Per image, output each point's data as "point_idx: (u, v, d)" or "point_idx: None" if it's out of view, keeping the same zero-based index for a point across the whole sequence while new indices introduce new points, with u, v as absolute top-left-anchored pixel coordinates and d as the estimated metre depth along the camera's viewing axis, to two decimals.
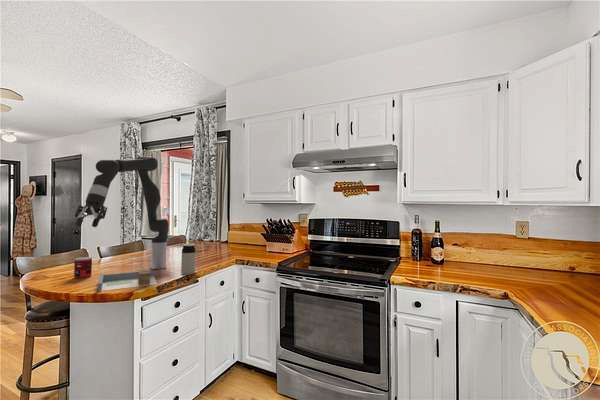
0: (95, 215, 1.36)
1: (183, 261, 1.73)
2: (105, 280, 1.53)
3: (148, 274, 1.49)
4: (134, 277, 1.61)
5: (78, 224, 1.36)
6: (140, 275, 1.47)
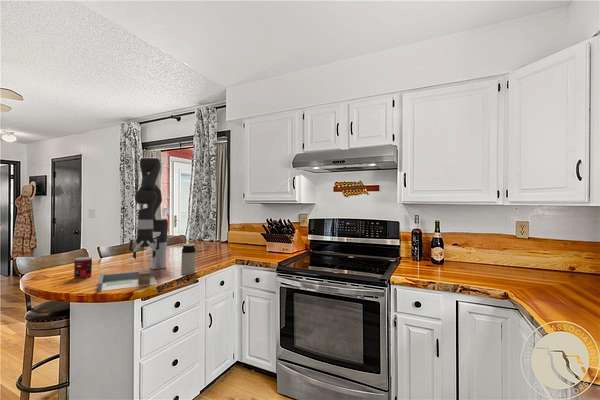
0: (153, 248, 1.54)
1: (183, 261, 1.73)
2: (105, 280, 1.53)
3: (148, 274, 1.49)
4: (134, 277, 1.61)
5: (135, 257, 1.50)
6: (140, 275, 1.47)
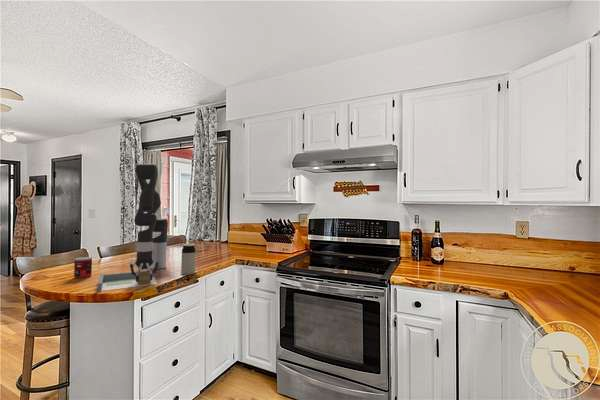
0: (149, 271, 1.53)
1: (183, 261, 1.73)
2: (105, 280, 1.53)
3: (148, 274, 1.49)
4: (134, 277, 1.61)
5: (138, 281, 1.51)
6: (140, 275, 1.47)
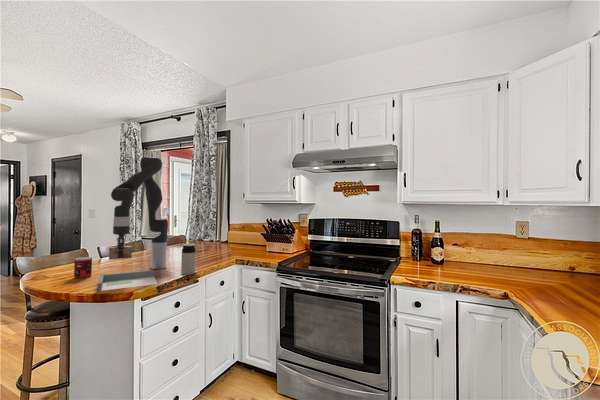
0: (118, 247, 1.49)
1: (183, 261, 1.73)
2: (105, 280, 1.53)
3: (109, 249, 1.48)
4: (134, 277, 1.61)
5: None
6: None
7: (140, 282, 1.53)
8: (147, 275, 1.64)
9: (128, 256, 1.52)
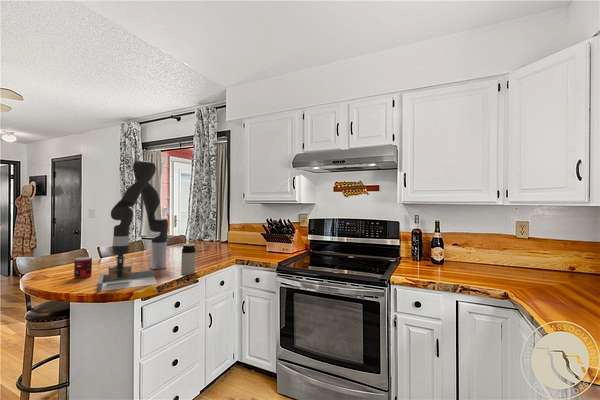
0: None
1: (183, 261, 1.73)
2: (105, 280, 1.53)
3: None
4: (134, 277, 1.61)
5: None
6: (109, 267, 1.50)
7: (140, 282, 1.53)
8: (147, 275, 1.64)
9: (127, 275, 1.51)
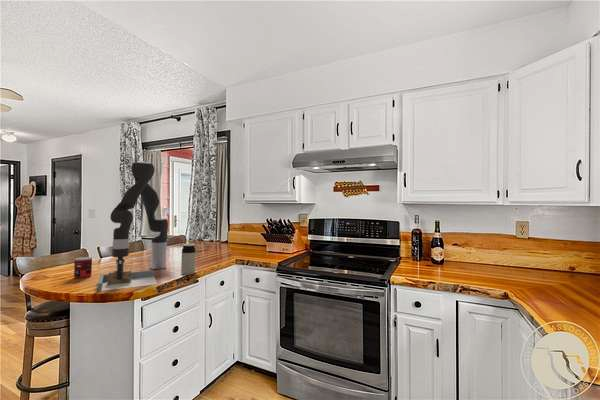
0: (117, 269, 1.47)
1: (183, 261, 1.73)
2: (105, 280, 1.53)
3: None
4: (134, 277, 1.61)
5: None
6: None
7: (140, 282, 1.53)
8: (147, 275, 1.64)
9: (127, 280, 1.51)
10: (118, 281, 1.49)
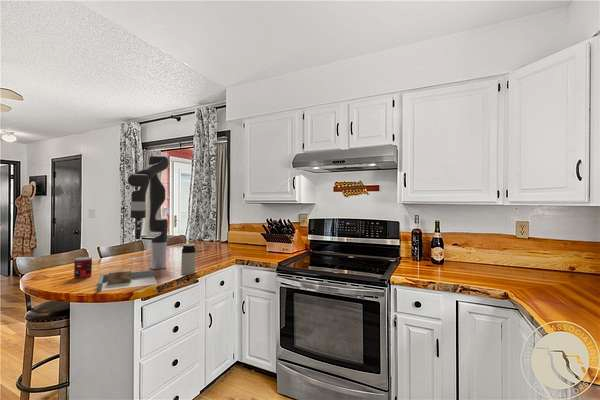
0: (135, 229, 1.55)
1: (183, 261, 1.73)
2: (105, 280, 1.53)
3: None
4: (134, 277, 1.61)
5: None
6: None
7: (140, 282, 1.53)
8: (147, 275, 1.64)
9: (127, 280, 1.51)
10: (118, 281, 1.49)
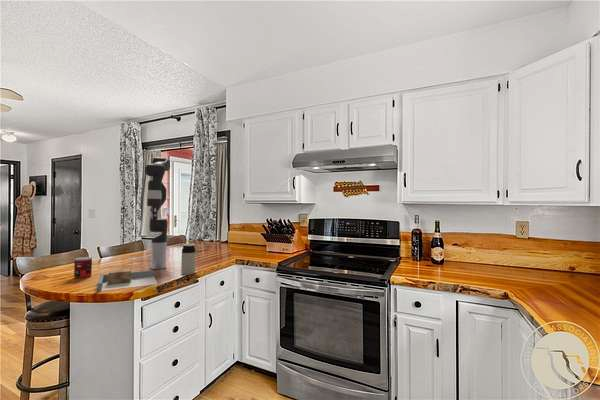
0: (152, 217, 1.63)
1: (183, 261, 1.73)
2: (105, 280, 1.53)
3: None
4: (134, 277, 1.61)
5: (152, 224, 1.70)
6: None
7: (140, 282, 1.53)
8: (147, 275, 1.64)
9: (127, 280, 1.51)
10: (118, 281, 1.49)
